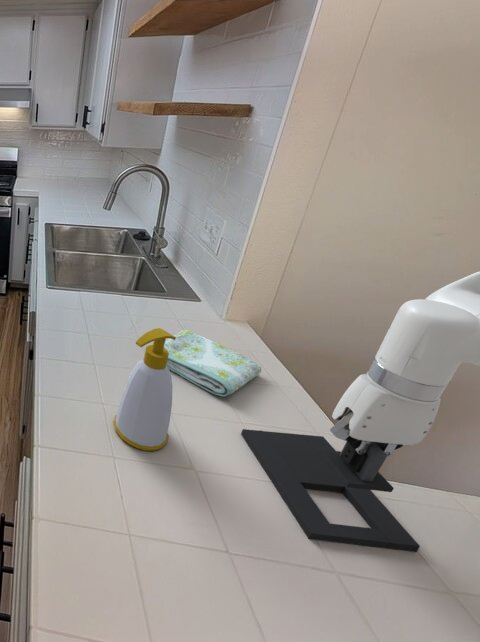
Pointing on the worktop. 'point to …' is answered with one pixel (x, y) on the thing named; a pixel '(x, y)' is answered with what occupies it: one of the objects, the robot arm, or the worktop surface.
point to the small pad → (366, 475)
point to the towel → (209, 363)
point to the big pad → (314, 473)
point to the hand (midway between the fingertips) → (356, 465)
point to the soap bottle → (147, 396)
